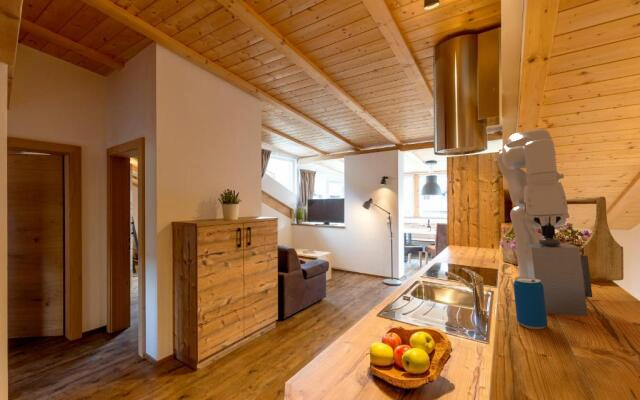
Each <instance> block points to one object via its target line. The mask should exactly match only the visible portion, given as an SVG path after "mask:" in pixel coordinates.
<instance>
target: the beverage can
mask: <svg viewBox="0 0 640 400" xmlns="http://www.w3.org/2000/svg"><path fill="white" fill-rule="evenodd" d="M512 285H513V293H514V295H513V296H514V303H515V304H514V305H515V313H516V321H517V323H518V324H519V325H521V326H522V327H524V328H527V329H531V330H542V329H545V327H547V326H548V317H547V313H546V306H545V297H544V289H543V284H542V283H541V280H539V279H536V278H528V277H520V276H519V277H515V278H514V281H513V283H512Z"/></svg>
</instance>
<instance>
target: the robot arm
mask: <svg viewBox="0 0 640 400" xmlns="http://www.w3.org/2000/svg"><path fill="white" fill-rule="evenodd" d="M556 157H557V156H556V149H555V144H554V141H553V140H552V136H551V133H550V132H549V131H548V130H547V129H545V128H544V129H543V128H537V129H533V130H527V131H518V132H515V133H513V134H512V135H510V136H509V137H508V138H507V140H506V143H505V145H504V146H503V147H502V150H501V151H499V153H498V154H497V158H496V159H497V160H496V161H497V166H498V168H499V171H500V173H501V175H502V176H503V177H504V178H505V181H506V182H507V187H508V192H509V195H510V196H509V197H510V200H511V203H512V204H513V205H515V206H514V207H513V208H512V209H511V210H510V213H509V215H510V216H509V217H510V220H511V224H512V228H513V232H514V233H513V234H514V239H515V247H516V255H517V256H516V257H517V258H516V259H517V266H518V267H517V268H518V273H519V274H518V276H519V277H528V270H527V261H526V252H525V243H539V239H544V238H546V239H549V238H550V239H553V238H554V237H555V236H556V230H555V229H556V228H561V227H563V226H564V225H565V224H566V222H567V219H569V218H570V214H569V207H568V202H567V197H566V193H565V189H564V187H563V184H562V182H559V180H561V179H564V178H565V175H564V173H559V172H558V168H557V158H556ZM523 169H525V170H523ZM536 229H540V231H541V233H539V232H538V231H537V230H536Z"/></svg>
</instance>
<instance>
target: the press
mask: <svg viewBox="0 0 640 400" xmlns="http://www.w3.org/2000/svg"><path fill="white" fill-rule="evenodd" d="M525 252H526V261H527V270H528V278H536V279H539V280H541V283H542V284H543V289H544V297H545V306H546V314H554V315H555V314H556V315H569V316H581V317H588V315H589V314H588V307H587V299H586V298H593V291H592V290H593V289H592V282H591V281H592V280H591V274H590V266H589V259H588V255H587V254H581V250H580V246H576V245H574V244H571V243H568V242H560V245H553V246H547V245H540V244H539V243H525Z"/></svg>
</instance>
